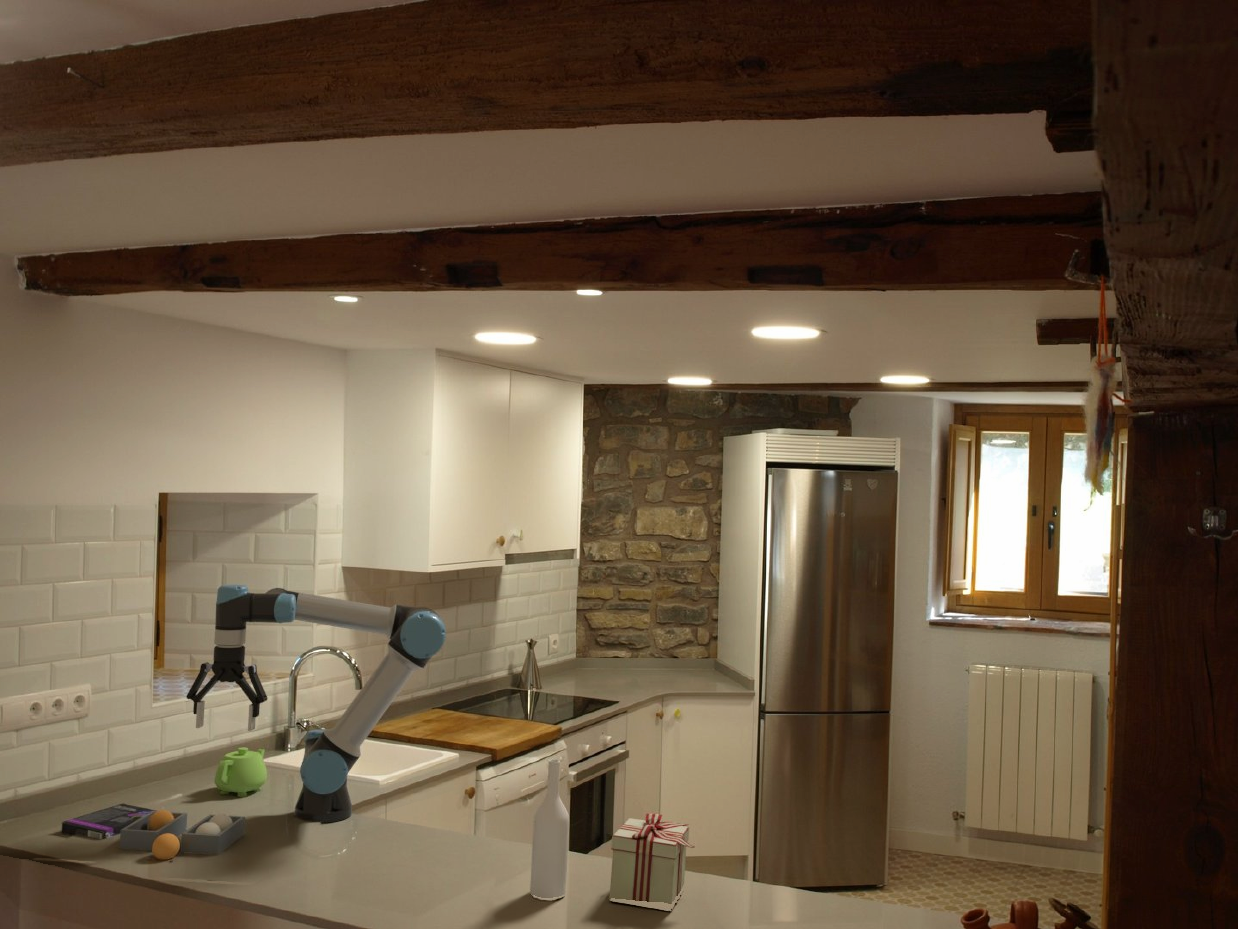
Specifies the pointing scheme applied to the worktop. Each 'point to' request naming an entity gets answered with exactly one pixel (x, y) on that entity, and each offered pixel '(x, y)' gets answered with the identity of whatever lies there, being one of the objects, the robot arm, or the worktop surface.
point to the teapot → (241, 772)
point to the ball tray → (143, 838)
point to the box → (104, 821)
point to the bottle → (550, 841)
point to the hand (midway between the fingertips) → (225, 728)
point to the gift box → (649, 860)
